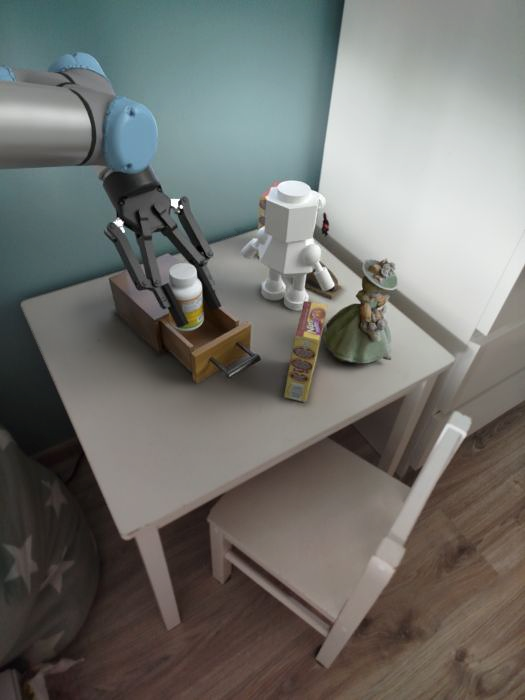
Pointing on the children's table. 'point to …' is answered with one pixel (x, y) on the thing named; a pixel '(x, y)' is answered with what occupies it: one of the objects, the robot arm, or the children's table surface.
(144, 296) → the cabinet
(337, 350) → the figurine
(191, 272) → the supplement bottle
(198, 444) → the children's table surface
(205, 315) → the drawer
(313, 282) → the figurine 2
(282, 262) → the robot toy
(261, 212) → the candy box
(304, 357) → the candy box
